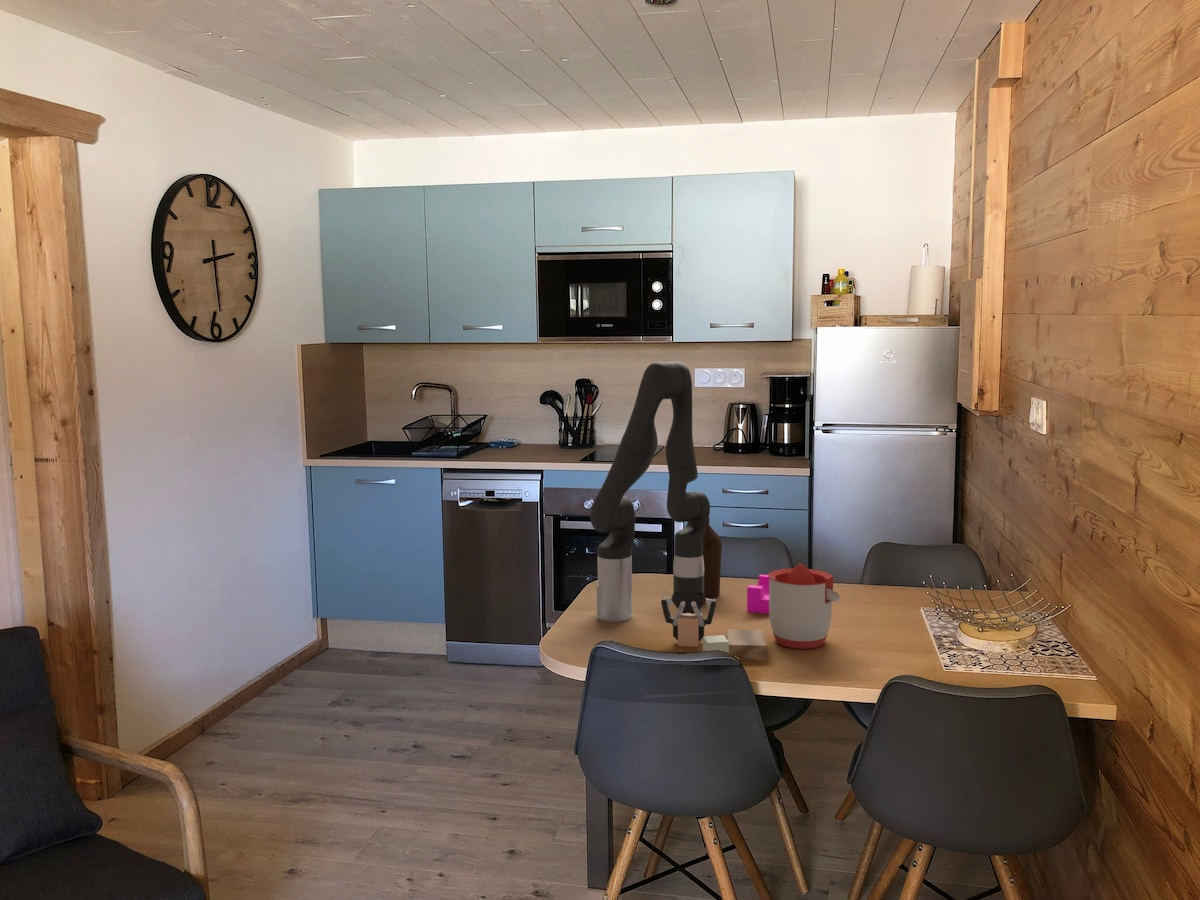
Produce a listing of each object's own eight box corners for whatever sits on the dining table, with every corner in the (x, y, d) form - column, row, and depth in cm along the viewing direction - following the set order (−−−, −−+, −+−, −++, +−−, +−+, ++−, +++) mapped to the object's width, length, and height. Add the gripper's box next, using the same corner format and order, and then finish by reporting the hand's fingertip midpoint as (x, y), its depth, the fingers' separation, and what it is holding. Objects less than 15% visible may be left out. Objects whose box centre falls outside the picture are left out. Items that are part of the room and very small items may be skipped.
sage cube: (707, 663, 221) (707, 642, 220) (703, 656, 226) (702, 636, 225) (728, 662, 221) (728, 641, 221) (723, 655, 226) (723, 635, 226)
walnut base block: (728, 661, 223) (728, 644, 222) (726, 644, 235) (726, 629, 234) (766, 662, 222) (766, 645, 222) (763, 645, 234) (763, 629, 233)
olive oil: (729, 596, 277) (729, 512, 274) (705, 603, 270) (705, 517, 267) (701, 589, 285) (701, 507, 282) (677, 596, 278) (677, 512, 275)
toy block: (769, 616, 258) (769, 589, 257) (746, 613, 260) (747, 587, 259) (781, 602, 271) (782, 576, 270) (760, 599, 274) (760, 574, 273)
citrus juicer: (829, 658, 223) (830, 575, 221) (758, 647, 232) (759, 567, 229) (846, 639, 237) (848, 560, 234) (779, 629, 245) (780, 553, 243)
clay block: (677, 645, 233) (677, 618, 232) (679, 639, 238) (679, 612, 237) (698, 646, 233) (698, 618, 232) (699, 640, 237) (699, 613, 237)
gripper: (658, 575, 231) (658, 643, 233) (717, 577, 228) (717, 645, 230) (660, 568, 238) (661, 634, 240) (718, 569, 236) (718, 636, 238)
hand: (688, 639), depth 235 cm, fingers closed on clay block, 5 cm apart
